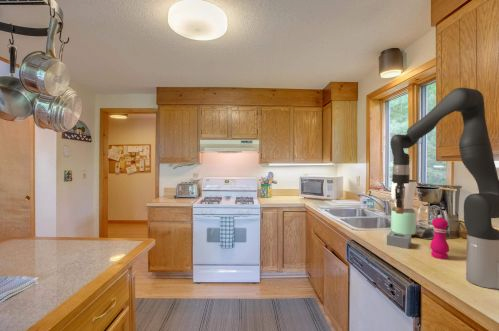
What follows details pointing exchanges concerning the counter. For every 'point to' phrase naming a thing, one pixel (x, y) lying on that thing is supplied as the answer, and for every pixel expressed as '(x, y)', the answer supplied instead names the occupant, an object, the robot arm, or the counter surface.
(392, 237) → the socket block
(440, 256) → the pepper mill
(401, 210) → the peg
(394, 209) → the juicer
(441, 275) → the counter surface
